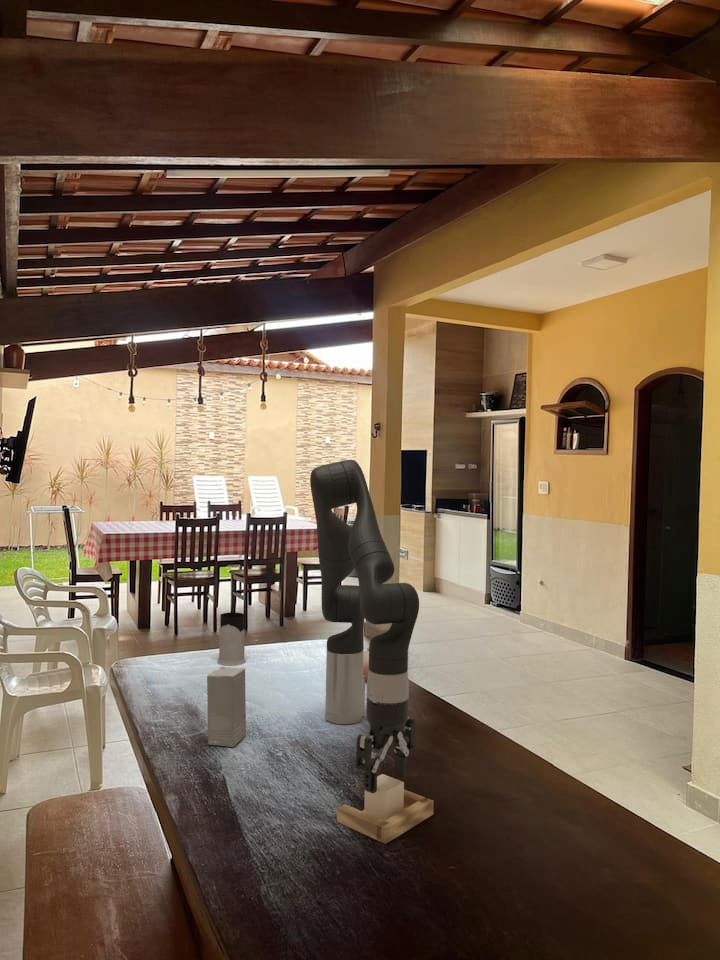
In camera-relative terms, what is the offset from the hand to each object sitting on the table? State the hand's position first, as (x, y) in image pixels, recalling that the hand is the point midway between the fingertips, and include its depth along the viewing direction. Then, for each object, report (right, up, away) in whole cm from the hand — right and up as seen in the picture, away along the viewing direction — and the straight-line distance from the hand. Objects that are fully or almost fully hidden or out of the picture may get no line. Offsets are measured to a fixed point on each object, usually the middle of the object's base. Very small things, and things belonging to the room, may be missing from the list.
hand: (385, 783), depth 131 cm
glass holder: (-45, -3, +102) cm, 111 cm away
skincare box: (-35, -5, +35) cm, 50 cm away
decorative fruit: (-1, -5, +82) cm, 82 cm away
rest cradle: (0, -6, -1) cm, 6 cm away
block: (0, -6, 0) cm, 6 cm away
